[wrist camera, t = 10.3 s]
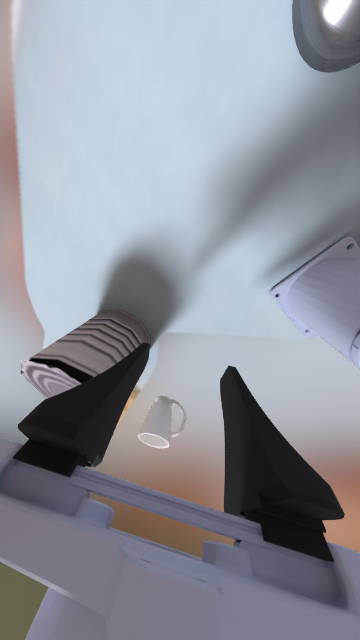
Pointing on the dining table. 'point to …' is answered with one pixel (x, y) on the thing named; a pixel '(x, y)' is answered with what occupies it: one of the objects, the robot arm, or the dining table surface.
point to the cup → (159, 424)
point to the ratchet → (327, 33)
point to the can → (85, 352)
